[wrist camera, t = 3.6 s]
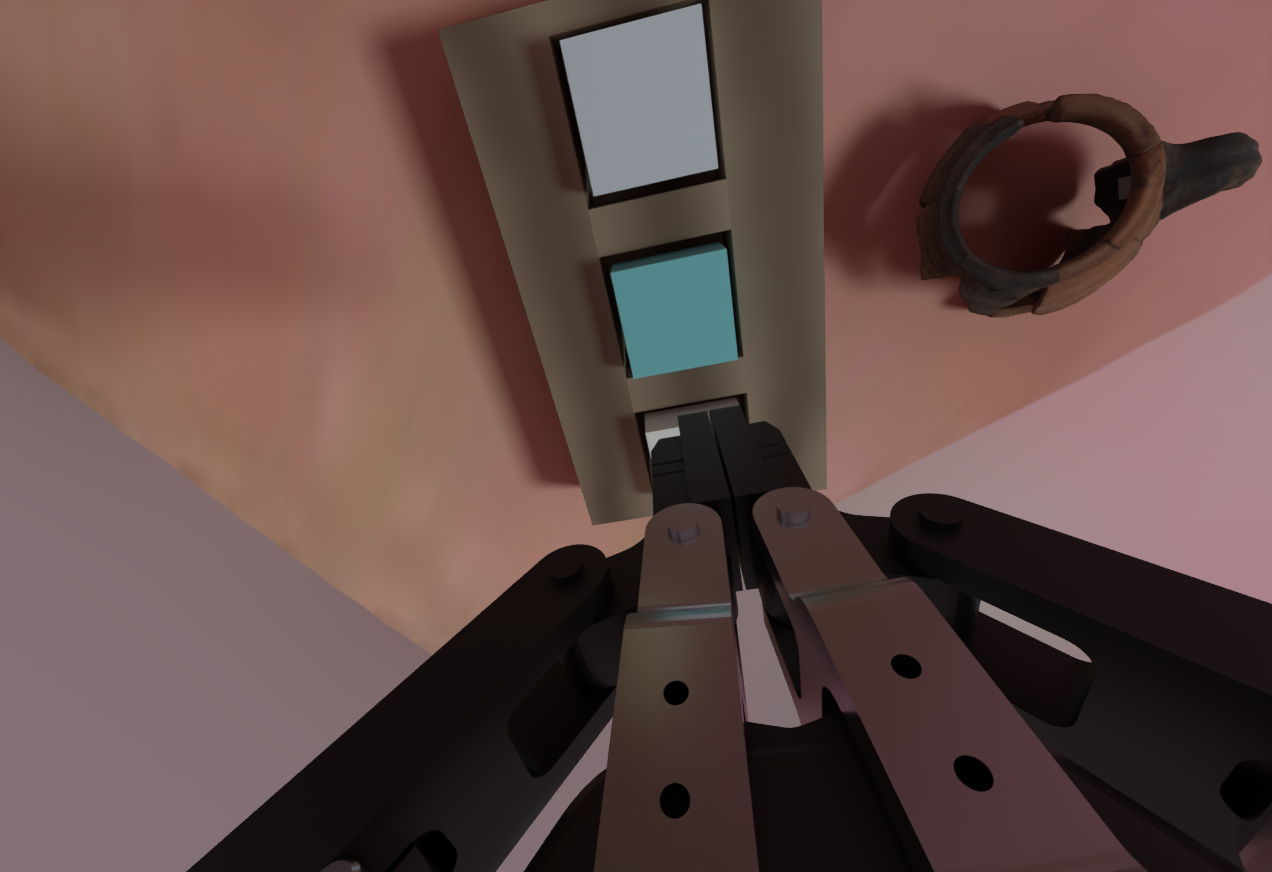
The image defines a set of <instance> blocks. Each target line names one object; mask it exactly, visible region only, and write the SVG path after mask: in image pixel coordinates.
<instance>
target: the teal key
mask: <svg viewBox="0 0 1272 872" xmlns="http://www.w3.org/2000/svg"><path fill="white" fill-rule="evenodd" d="M610 273H611V278H612V283H613V287H614V292H615V296H616V301H617V305H618V310H619V315H620V319H621V324H622V328H623V333H624V337H625V342H626V347H627V351H628V356H629V360H630V365H631V369H632V374H633V379H637V378H642V377H648V376H653V375H659V374H664V373H669V372H675V371H680V370H686V369H691V368H696V367H702V366H707V365H712V364H718V363H723V362H729V361H734V360H738V354H737V345H736V335H735V325H734V315H733V306H732V296H731V286H730V277H729V267H728V257H727V248H725V247H724V246H723V245H722V244H721V243H720V242H715V243H710V244H705V245H700V246H696V247H691V248H686V249H681V250H677V251H672V252H667V253H662V254H658V255H653V256H648V257H644V258H639V259H634V260H629V261H625V262H620V263H615V264H613V265H612V269H611V272H610Z"/></svg>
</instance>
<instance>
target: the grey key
mask: <svg viewBox="0 0 1272 872" xmlns="http://www.w3.org/2000/svg"><path fill="white" fill-rule="evenodd" d="M560 45H561V49H562V54H563V59H564V63H565V68H566V72H567V77H568V81H569V86H570V91H571V95H572V100H573V104H574V109H575V113H576V118H577V123H578V127H579V132H580V136H581V141H582V145H583V150H584V155H585V159H586V164H587V168H588V173H589V177H590V182H591V187H592V191H593V196H598V195H603V194H607V193H612V192H616V191H620V190H625V189H629V188H634V187H638V186H642V185H647V184H651V183H656V182H660V181H665V180H669V179H673V178H678V177H682V176H687V175H691V174H695V173H700V172H704V171H709V170H713V169H717V168H718V160H717V150H716V141H715V131H714V121H713V112H712V102H711V92H710V83H709V73H708V63H707V53H706V44H705V34H704V24H703V15H702V5H701V4H697V5H693V6H689V7H685V8H681V9H678V10H674V11H670V12H666V13H662V14H659V15H655V16H651V17H647V18H643V19H639V20H636V21H632V22H628V23H624V24H620V25H616V26H613V27H609V28H605V29H601V30H597V31H594V32H590V33H586V34H582V35H578V36H574V37H571V38H567V39H563V40H560Z"/></svg>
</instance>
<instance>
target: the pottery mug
mask: <svg viewBox="0 0 1272 872" xmlns="http://www.w3.org/2000/svg"><path fill="white" fill-rule="evenodd" d="M1044 121H1051V122H1054V123H1056V122H1074V123H1081V124H1085V125H1089V126H1092V127H1095V128H1097V129H1099V130H1102V131H1103V132H1105V133H1107V134H1108V135H1110V136H1111V137H1112V138H1113V139H1114V140H1115V141H1116V142H1117V143H1118V144H1119V145H1120V146H1121V147H1122V149H1123V151H1124V153H1125V155H1126V158H1124V159H1121V160H1117V161H1115V162H1114V163H1113V164H1111V165H1110V166H1107V167H1103V168H1100V169H1099V170H1098V171H1097V172H1096V173H1095V174H1094V181H1095V197H1094V202H1095V204H1096V205H1097V206H1098V207H1100V208H1101V209H1102V211H1103V212H1104V213H1105V214H1106V215H1107V216H1108V217H1109V219H1110V223H1109V224H1107V225H1100V226H1095V227H1092V228H1090V229H1078V230H1074V231H1072V232H1071V234H1070V237H1069V241H1068V245H1067V248H1066V251H1065V253H1064V255H1063V257H1062V259H1061V261H1060V262H1059V264H1057V265H1054V266H1052V267H1050V268H1045V269H1040V270H1032V271H1015V270H1008V269H1003V268H1000V267H996V266H994V265H991V264H989V263H987V262H985V261H983V260H982V259H980V258H979V257H977V256H974V255H973V253H972V251H971V250H970V249H969V248H968V246H967V245H966V243H965V241H964V239H963V237H962V235H961V232H960V229H959V225H958V205H959V201H960V197H961V194H962V190H963V188H964V186H965V184H966V182H967V180H968V178H969V176H970V175H971V173H972V171H973V170H974V169H975V167H976V166H977V164H978V163H979V162H980V161H981V160H982V159H983V158H984V157H985V156H986V155H987V154H988V153H989V152H990V151H991V150H992V149H993V148H995V147H996V146H997V145H998V144H1000V143H1001V142H1002V141H1004V140H1006V139H1007V138H1009V137H1010V136H1012V135H1013V134H1015V133H1016V132H1017V131H1019V130H1020V129H1021V128H1022V127H1025V126H1028V125H1031V124H1034V123H1039V122H1044ZM1258 148H1259V144H1258V142H1257V141H1255V140H1254V139H1252V138H1251V137H1249V136H1248V135H1247V134H1244V133H1241V132H1236V133H1229V134H1225V135H1220V136H1214V137H1209V138H1206V139H1202V140H1198V141H1195V142H1190V143H1185V144H1170V143H1167V142H1165V141H1161V140H1160V137H1159V135H1158V134H1157V132H1156V131H1155V129H1154V127H1153V125H1151V124H1150V123H1149V122H1148V120H1147V119H1146V118H1145V117H1144V116H1143V115H1142V114H1141V113H1140V112H1138V111H1137V110H1136V109H1134V108H1133V107H1132V106H1130V105H1129V104H1127V103H1124V102H1121V101H1119V100H1116V99H1114V98H1111V97H1105V96H1102V95H1099V94H1069V95H1062V96H1059V97H1058V98H1057V99H1056V100H1054V101H1046V102H1043V103H1039V104H1038V103H1034V102H1029V101H1027V102H1022V103H1019V104H1016V105H1013V106H1010V107H1008V108H1005V109H1003V110H1000V111H998V112H996V113H994V114H992V115H990V116H988V117H987V118H985V119H983V120H982V121H980V122H979V123H977V124H976V125H973V126H971V127H970V128H968V129H967V130H965V131H964V132H963V133H962V134H961V136H960V137H959V138H958V139H957V140H956V141H955V142H954V143H953V144H952V146H951V147H950V148H949V150H948V151H947V152H946V153H945V155H944V156H943V157H942V159H941V160H940V162H939V163H938V164H937V166H936V168H935V169H934V171H933V173H932V174H931V176H930V178H929V180H928V182H927V185H926V187H925V189H924V191H923V193H922V195H921V198H920V202H919V204H920V206H921V207H923V208H924V209H923V211H922V212H921V213H920V214H919V216H918V218H917V233H918V237H919V243H920V247H921V267H920V274H921V280H926V279H933V278H941V277H947V276H960V277H961V283H960V286H959V290H960V294H961V297H962V298H963V299H964V300H965V301H966V302H967V305H968V310H969V311H970V312H972V313H976V314H981V315H987V316H988V317H1010V316H1014V315H1018V314H1023V313H1027V312H1031V313H1032V314H1035V315H1044V314H1048V313H1051V312H1055V311H1058V310H1061V309H1063V308H1066V307H1068V306H1070V305H1072V304H1075V303H1077V302H1078V301H1080V300H1082V299H1084V298H1085V297H1087V296H1088V295H1090V294H1091V293H1093V292H1095V291H1096V290H1097V289H1099V288H1100V287H1101V286H1103V285H1104V284H1105V283H1107V282H1108V281H1109V280H1111V279H1112V278H1113V277H1114V276H1116V275H1117V274H1118V273H1119V272H1120V271H1121V270H1122V269H1123V268H1124V267H1125V266H1126V265H1127V264H1128V263H1129V262H1130V261H1131V260H1132V259H1133V258H1134V257H1135V256H1136V255H1137V253H1138V252H1139V250H1140V248H1141V246H1142V243H1143V240H1144V239H1145V238H1147V237H1148V236H1149V235H1150V234H1151V232H1152V230H1153V229H1154V228H1155V227H1156V225H1157V224H1158V222H1159V220H1162V219H1164V218H1166V217H1167V216H1169V215H1170V214H1172V213H1174V212H1176V211H1178V210H1180V209H1183V208H1185V207H1187V206H1189V205H1191V204H1193V203H1196V202H1198V201H1200V200H1203V199H1205V198H1207V197H1210V196H1212V195H1215V194H1217V193H1218V192H1220V191H1225V190H1229V189H1233V188H1237V187H1240V186H1242V185H1243V184H1244V183H1245V182H1246V181H1248V180H1250V179H1251V178H1252V177H1253V176H1254V175H1255V173H1256V171H1257V169H1258V167H1259V166H1260V165H1261V163H1262V157H1261V155H1260V153H1259V151H1258Z"/></svg>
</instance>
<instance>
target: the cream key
mask: <svg viewBox="0 0 1272 872" xmlns="http://www.w3.org/2000/svg"><path fill="white" fill-rule="evenodd" d="M735 405H739V403H738V401H737V399H736V398H730V399H724V400H719V401H713V402H707V403H702V404H696V405H691V406H685V407H679V408H674V409H668V410H663V411H657V412H651V413H646V414H645V434H646V438H647V443H648V447H649V452H650V456H651V451H652V449H653V448H654V446H655V445H656V443H657V442H658V440H659V439H662V438H668V437H674V436H680V431H679V424H678V417H677V416H679V415H685V414H690V413H696V412H702V411H707V413H708V417H709V420H710V416H709V410H713V409H718V408H724V407H730V406H735Z"/></svg>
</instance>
